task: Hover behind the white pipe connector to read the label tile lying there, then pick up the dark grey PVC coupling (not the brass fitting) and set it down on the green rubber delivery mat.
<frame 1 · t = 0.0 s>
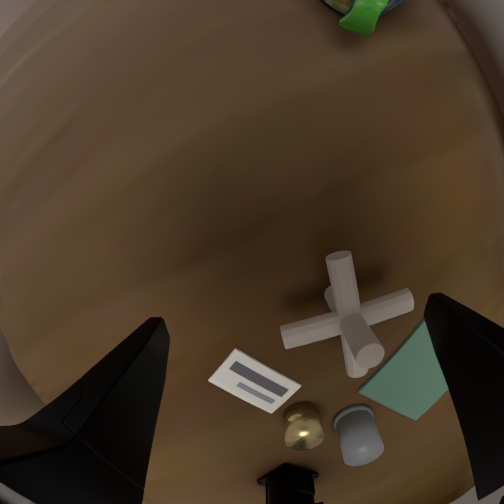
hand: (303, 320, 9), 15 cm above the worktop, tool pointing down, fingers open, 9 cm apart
brass fitting: (301, 413, 29), on the worktop
pvc coupling: (352, 417, 29), on the worktop
label tile: (254, 382, 28), on the worktop
pipe connector: (333, 293, 25), on the worktop
delivery mat: (425, 370, 27), on the worktop
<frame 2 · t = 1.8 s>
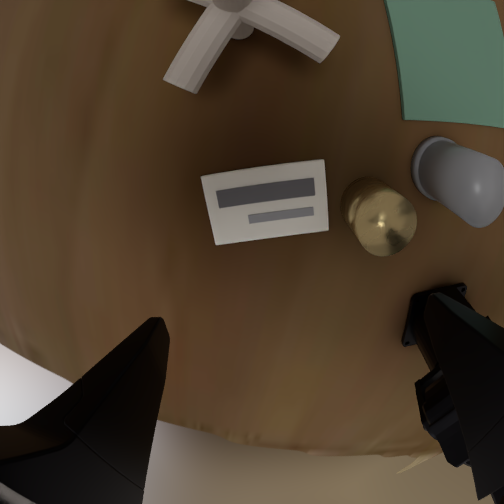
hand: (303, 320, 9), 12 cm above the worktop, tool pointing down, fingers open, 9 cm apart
brass fitting: (366, 204, 20), on the worktop
pvc coupling: (436, 167, 18), on the worktop
label tile: (267, 202, 20), on the worktop
pipe connector: (239, 27, 14), on the worktop
delivery mat: (457, 48, 13), on the worktop
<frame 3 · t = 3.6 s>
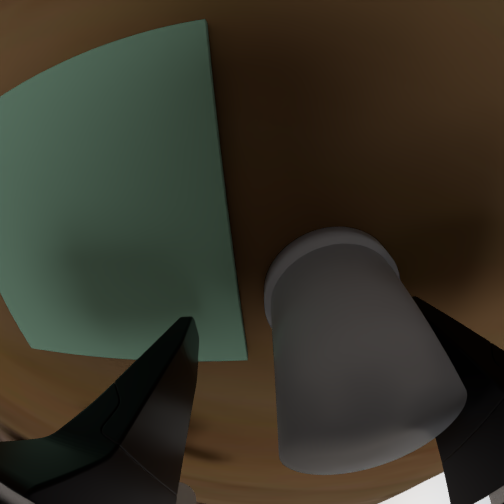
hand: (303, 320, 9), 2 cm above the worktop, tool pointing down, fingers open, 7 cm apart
pvc coupling: (330, 288, 10), on the worktop, touching gripper
pipe connector: (163, 440, 17), on the worktop
delivery mat: (69, 234, 9), on the worktop
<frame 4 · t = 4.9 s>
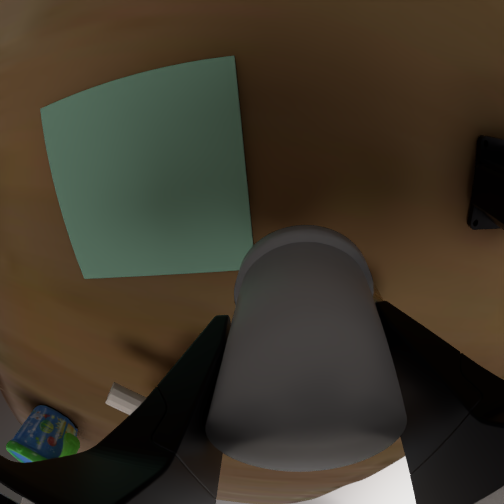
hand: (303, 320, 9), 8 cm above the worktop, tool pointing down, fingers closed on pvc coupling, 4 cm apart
pvc coupling: (304, 286, 10), point 7 cm above the worktop, tilted 6°, touching gripper
snack cup: (57, 416, 32), on the worktop
pipe connector: (182, 369, 23), on the worktop
delivery mat: (139, 180, 15), on the worktop
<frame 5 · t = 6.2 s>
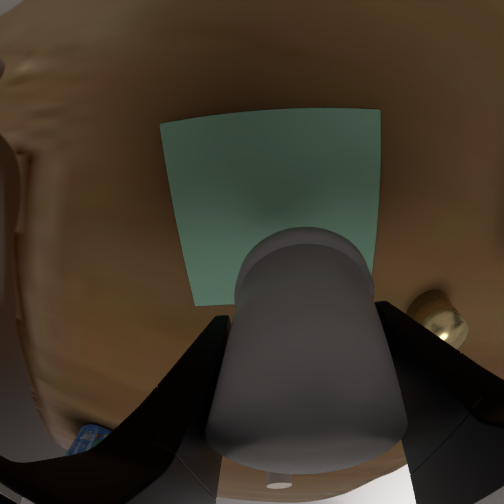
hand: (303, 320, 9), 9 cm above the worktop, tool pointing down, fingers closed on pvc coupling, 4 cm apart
brass fitting: (426, 309, 21), on the worktop
pvc coupling: (304, 288, 10), point 7 cm above the worktop, tilted 6°, touching gripper
snack cup: (106, 433, 33), on the worktop
pipe connector: (274, 382, 25), on the worktop
delivery mat: (279, 213, 17), on the worktop
when the fingers open (3 cm above the worktop, at t = 7.6 s): pvc coupling stays where it is, resting on delivery mat.
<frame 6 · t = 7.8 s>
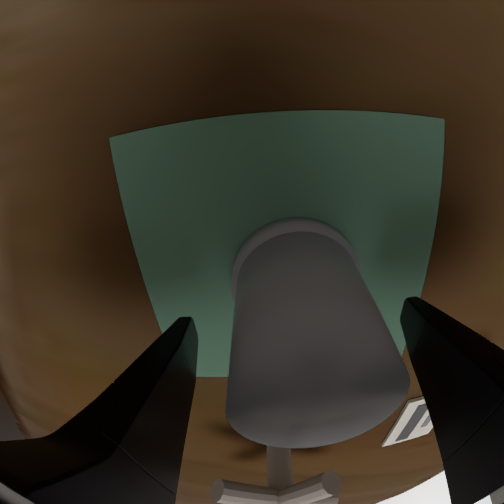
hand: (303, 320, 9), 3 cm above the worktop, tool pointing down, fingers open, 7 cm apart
pvc coupling: (295, 275, 11), resting on delivery mat
label tile: (419, 418, 19), on the worktop
pipe connector: (278, 441, 19), on the worktop
delivery mat: (292, 269, 12), on the worktop
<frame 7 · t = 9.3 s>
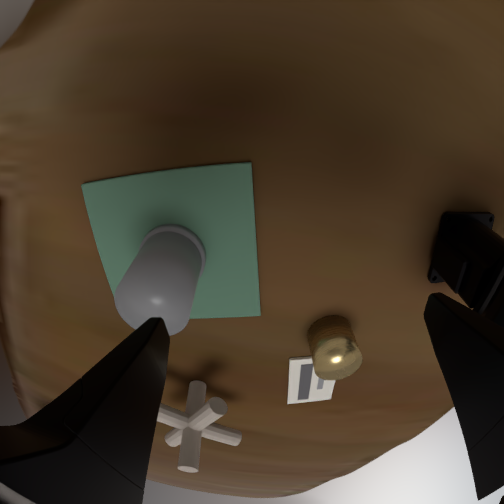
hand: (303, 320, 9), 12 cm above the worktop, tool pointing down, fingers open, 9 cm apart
brass fitting: (328, 332, 25), on the worktop
pvc coupling: (173, 254, 21), resting on delivery mat
label tile: (312, 379, 28), on the worktop
pipe connector: (198, 383, 29), on the worktop
delivery mat: (173, 251, 21), on the worktop
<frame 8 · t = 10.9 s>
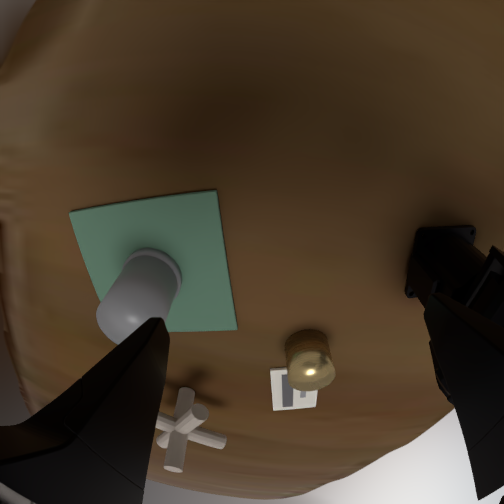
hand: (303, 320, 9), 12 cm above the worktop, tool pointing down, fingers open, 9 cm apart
brass fitting: (306, 344, 26), on the worktop
pvc coupling: (152, 275, 22), resting on delivery mat
label tile: (294, 388, 29), on the worktop
pipe connector: (187, 390, 30), on the worktop
delivery mat: (153, 272, 22), on the worktop
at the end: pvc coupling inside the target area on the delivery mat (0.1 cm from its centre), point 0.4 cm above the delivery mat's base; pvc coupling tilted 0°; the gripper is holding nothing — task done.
